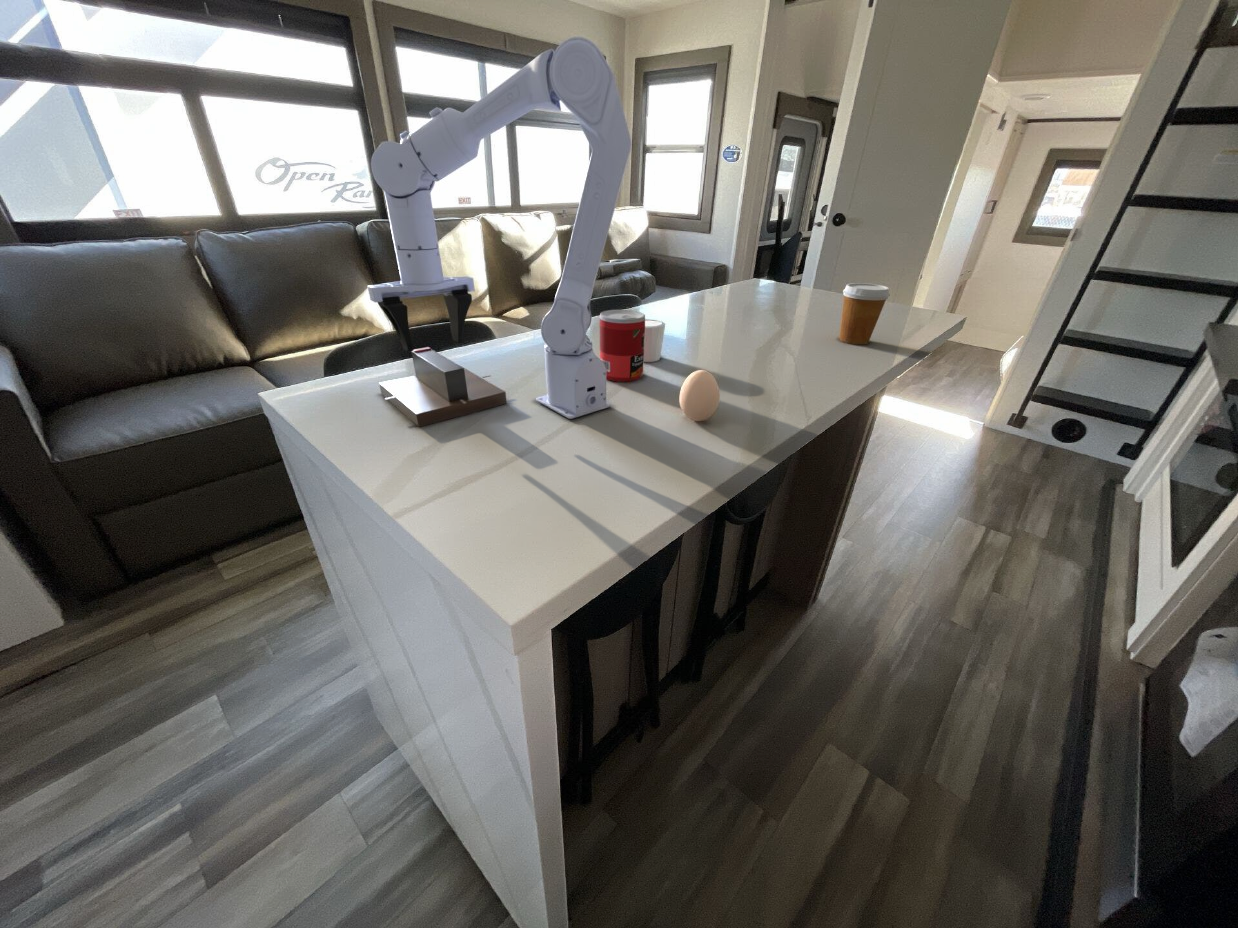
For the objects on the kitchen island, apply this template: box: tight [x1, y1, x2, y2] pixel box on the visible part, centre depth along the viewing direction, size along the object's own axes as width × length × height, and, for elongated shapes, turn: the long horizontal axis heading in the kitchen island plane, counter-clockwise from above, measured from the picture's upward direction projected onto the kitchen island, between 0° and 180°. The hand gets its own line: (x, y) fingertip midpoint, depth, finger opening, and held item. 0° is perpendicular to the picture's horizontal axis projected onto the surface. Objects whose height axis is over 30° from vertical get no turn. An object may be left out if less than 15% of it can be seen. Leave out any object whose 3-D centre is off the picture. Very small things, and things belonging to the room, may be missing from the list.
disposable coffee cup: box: [838, 282, 890, 345], centre depth 110 cm, size 10×10×12 cm
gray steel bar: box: [410, 346, 468, 401], centre depth 76 cm, size 13×3×5 cm, turn 40°
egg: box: [678, 369, 721, 422], centre depth 71 cm, size 6×6×8 cm
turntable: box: [378, 365, 508, 428], centre depth 78 cm, size 17×17×2 cm
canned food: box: [599, 309, 646, 383], centre depth 87 cm, size 8×8×11 cm
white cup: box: [643, 318, 666, 363], centre depth 98 cm, size 7×7×7 cm
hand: (433, 345), depth 74 cm, fingers open, 7 cm apart
